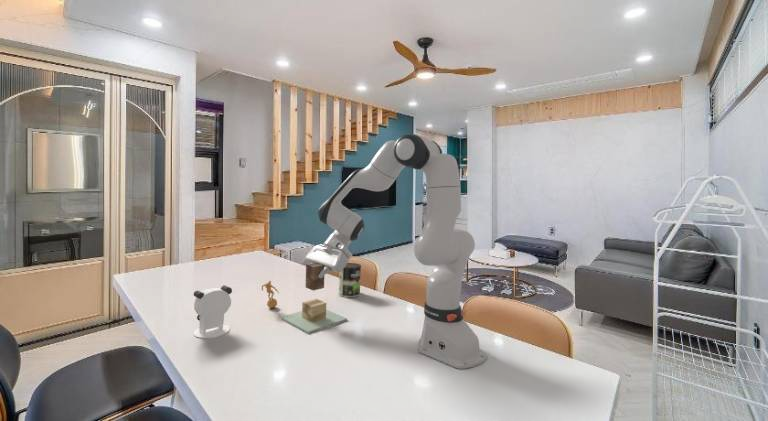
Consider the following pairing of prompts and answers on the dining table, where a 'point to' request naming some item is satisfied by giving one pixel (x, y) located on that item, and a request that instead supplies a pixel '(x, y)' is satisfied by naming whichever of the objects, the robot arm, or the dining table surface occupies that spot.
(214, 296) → the panda figurine
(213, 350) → the dining table surface
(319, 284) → the walnut brick
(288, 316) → the plate
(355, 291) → the coffee can
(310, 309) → the base brick
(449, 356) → the robot arm
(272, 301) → the figurine
